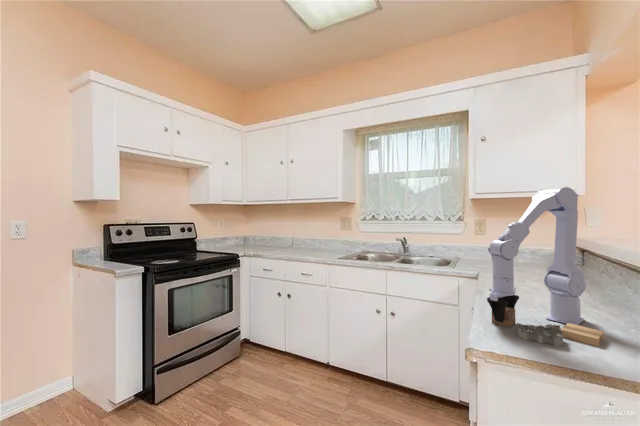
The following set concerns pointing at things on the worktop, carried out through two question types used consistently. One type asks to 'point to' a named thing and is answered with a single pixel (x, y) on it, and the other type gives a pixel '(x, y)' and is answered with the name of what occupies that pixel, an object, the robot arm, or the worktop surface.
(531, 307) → the worktop surface
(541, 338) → the egg carton
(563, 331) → the board
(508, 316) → the walnut cube
